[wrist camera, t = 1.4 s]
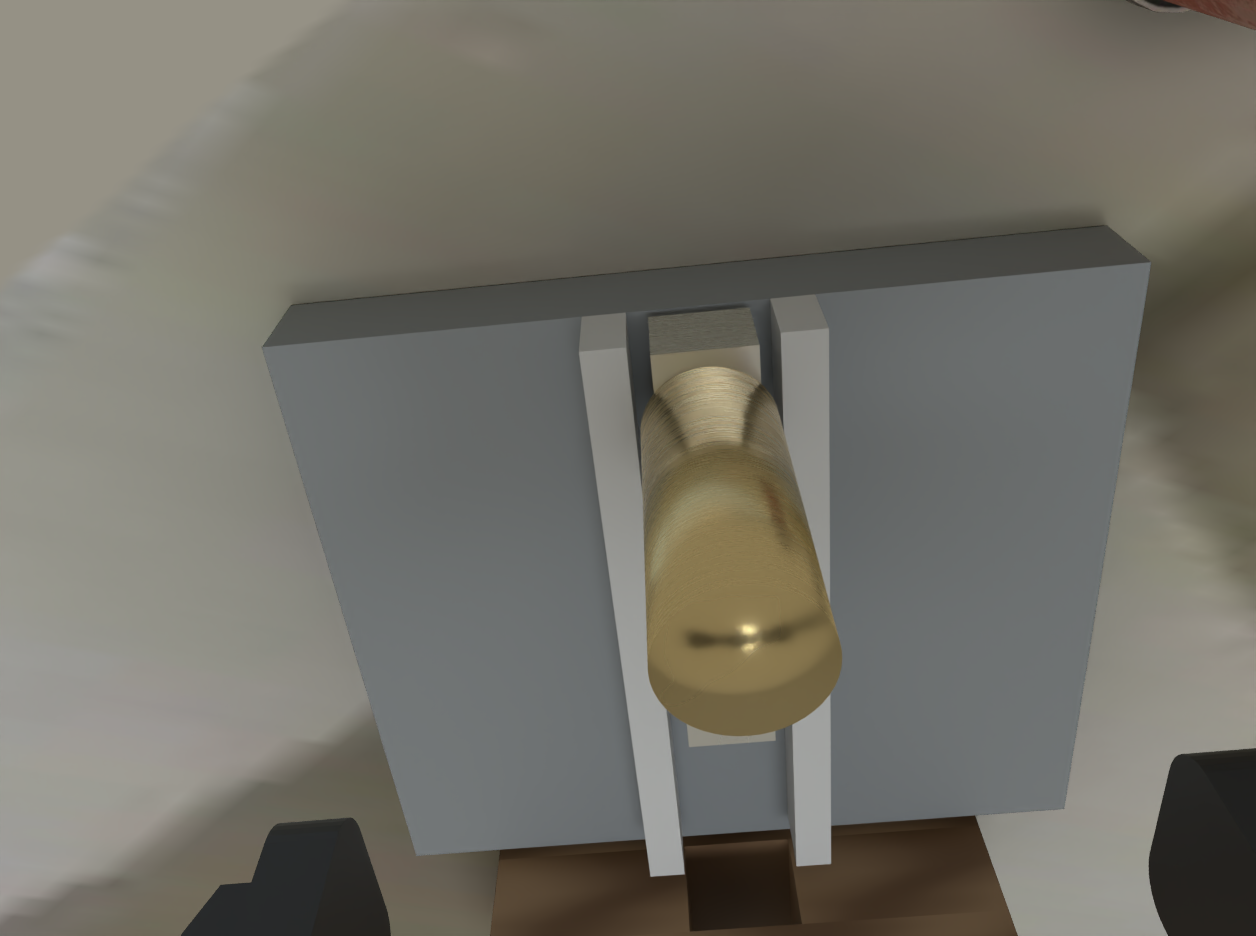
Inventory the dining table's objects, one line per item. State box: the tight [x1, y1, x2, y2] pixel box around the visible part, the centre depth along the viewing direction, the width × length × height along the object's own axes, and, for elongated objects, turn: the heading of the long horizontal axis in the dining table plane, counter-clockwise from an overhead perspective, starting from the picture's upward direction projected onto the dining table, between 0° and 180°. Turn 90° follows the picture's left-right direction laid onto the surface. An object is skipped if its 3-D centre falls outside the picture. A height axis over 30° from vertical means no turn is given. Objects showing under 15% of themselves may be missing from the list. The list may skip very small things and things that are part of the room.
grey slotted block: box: [262, 226, 1151, 877], centre depth 23 cm, size 16×14×4 cm
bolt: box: [640, 307, 842, 747], centre depth 18 cm, size 2×9×8 cm, turn 6°
